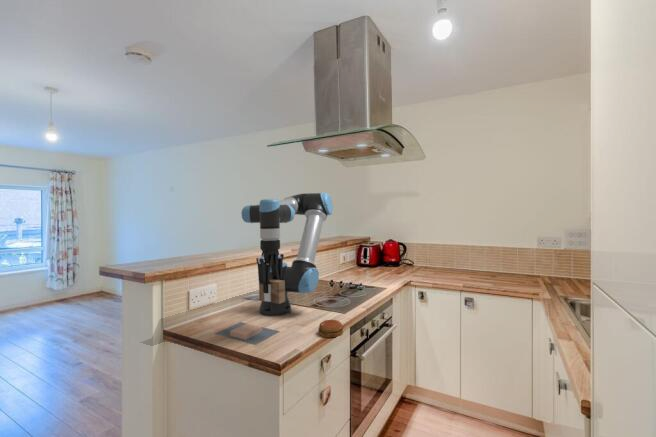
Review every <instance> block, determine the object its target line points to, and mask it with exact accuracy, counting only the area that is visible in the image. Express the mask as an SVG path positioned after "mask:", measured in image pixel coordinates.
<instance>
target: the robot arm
mask: <svg viewBox="0 0 656 437" xmlns="http://www.w3.org/2000/svg"><path fill="white" fill-rule="evenodd" d="M332 201H333V200H332V198H331V195H330V194H329V193H327V192H317V193H314V192H313V193H311V192H310V193H308V192H307V193H298V194H294V195H290V196H287V197H285V198H283V199H282V200H278V199H273V198H269V199H265V198H264V199H261V200H260V201H259V204H255V205H252V204H250V205H245V206H244V207H243V208H242V209H241V218H242V220H243V222H244V223H249V224H255V223H256V224H257V223H259V236H260V237H259V238H260V239H261V240H260V241H259V243H260V251H261V256H260V257H256V259H255V261H256V263H257V271H258V272H257V273H258V284H259V283H260V284H263V292H264V301H261V302H260V305H259V310H258V311H259V314H260V315H262V316H265V317H280V316H283V315H287V314H291V312H292V304H291V301H290V299H289V296H288V292H289V293H297V294H299V293H300V294H311V293H313V291H315V290H316V288H317V286H318V283H319V279H320V277H319V276H320V273H319V270H318V269H317V265H316V264H315V260H316V256H317V250H318V247H319V242H320V241H319V240H320V236H321V232H322V228H323V223H324V222H325V221H327V218H328V216H330V215H332V214H333V202H332ZM295 215H297V216H298V215H299V216H305V217H306V219H305V223H304V227H303V232H302V236H301V240H300V244H299V248H298V252H297V254H296V259H294V260H293V261H292V263H291V266H288V264H287V263H286V262H284V261H283V260H284V256H285V255H284V254H283V253H280V249H281V240H280V238H281V229H280V228H281V227H280V226H281V225H280V224H287V223H290V222H292V221H293V220H294V218H295ZM270 279H275V280H284V281H285V302H283V303H280V304H277V303H271V284H269V280H270ZM265 301H268V302H265Z"/></svg>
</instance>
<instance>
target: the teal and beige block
mask: <svg viewBox="0 0 656 437" xmlns="http://www.w3.org/2000/svg"><path fill="white" fill-rule="evenodd" d="M262 327H263V326H259V325H254V324H251V323H247V324H245V325H242V326H240V327H238V328H236V329H233V330H231V331H230V337H234V338H238V339H241V340H247V339H249V338H251V337H253V336H255V335H257V334H259V333H261V332H262Z"/></svg>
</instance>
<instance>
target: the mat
mask: <svg viewBox="0 0 656 437" xmlns="http://www.w3.org/2000/svg"><path fill="white" fill-rule="evenodd" d="M245 324H248V322H247V323H246V322H241V321H240V322H237V323H235V324H232V325H230V326H228V327H225V328H223V329H221V330H219V331H217V332H214V334H215V335H218V336H222V337H225V338H229V339H232V340H237V341H241V342H244V343H247V344H251V345H258V344H260V343H262V342H264V341H266V340H268V339H269V338H272V337H273V336H275V335H276V334H279V333H280V332H281V331H280V330H275V329H272V328H267V327H263V326H261V327H262V332H261V333H259V334H257V335H255V336H253V337H251V338H249V339H247V340H241V339H238V338H234V337H230V331H231V330H233V329H236V328H238V327H240V326H242V325H245Z"/></svg>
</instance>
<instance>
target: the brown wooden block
mask: <svg viewBox="0 0 656 437" xmlns="http://www.w3.org/2000/svg"><path fill="white" fill-rule="evenodd" d="M269 284H271V303H277V304H280V303H283V302H285V281H284V280H275V279H270V280H269ZM258 292H259V293H258V294H256V293H255V294H254V293H252V294H249V295H246V296H243V297H242V299H243V300H247V301H253V302H259V301H264V292H263V284H260V283H259V282H258ZM265 302H268V301H265Z"/></svg>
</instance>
